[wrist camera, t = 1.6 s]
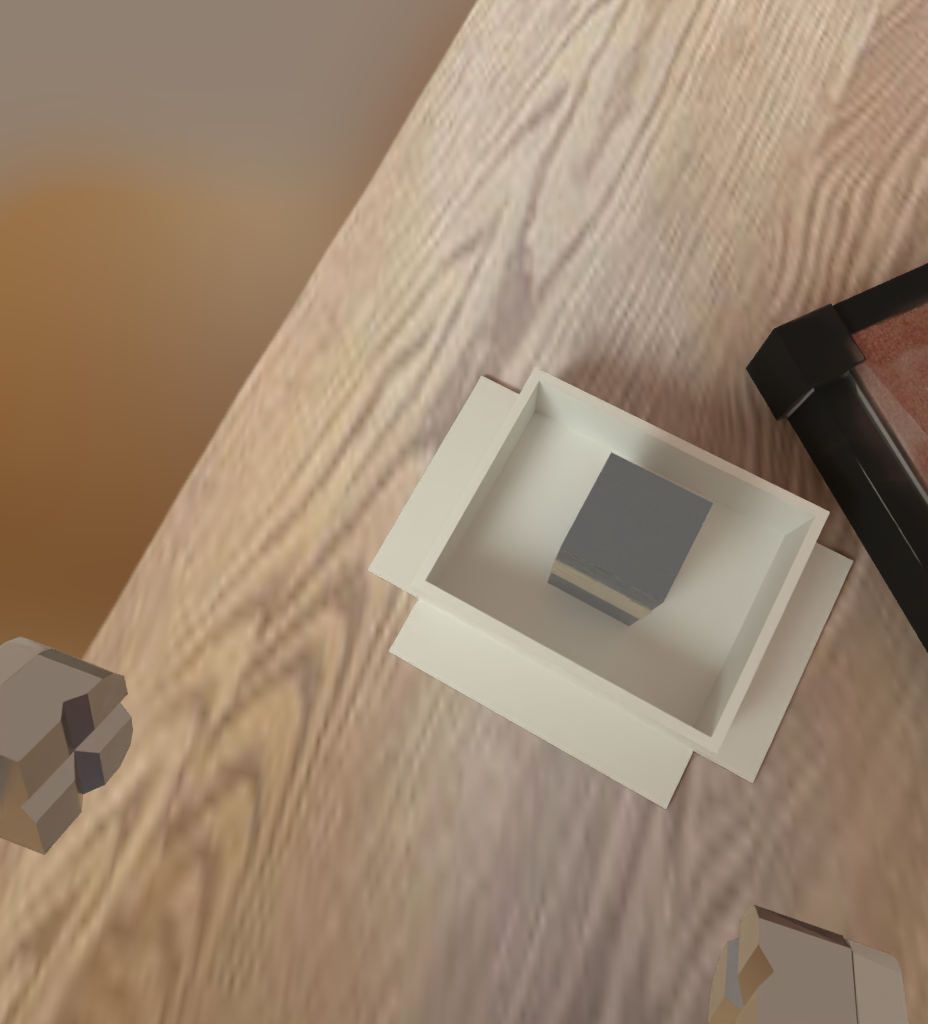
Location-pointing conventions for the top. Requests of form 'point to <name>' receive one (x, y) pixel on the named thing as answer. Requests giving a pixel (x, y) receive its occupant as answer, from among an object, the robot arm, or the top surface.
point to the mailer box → (586, 630)
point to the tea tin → (628, 541)
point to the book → (865, 419)
